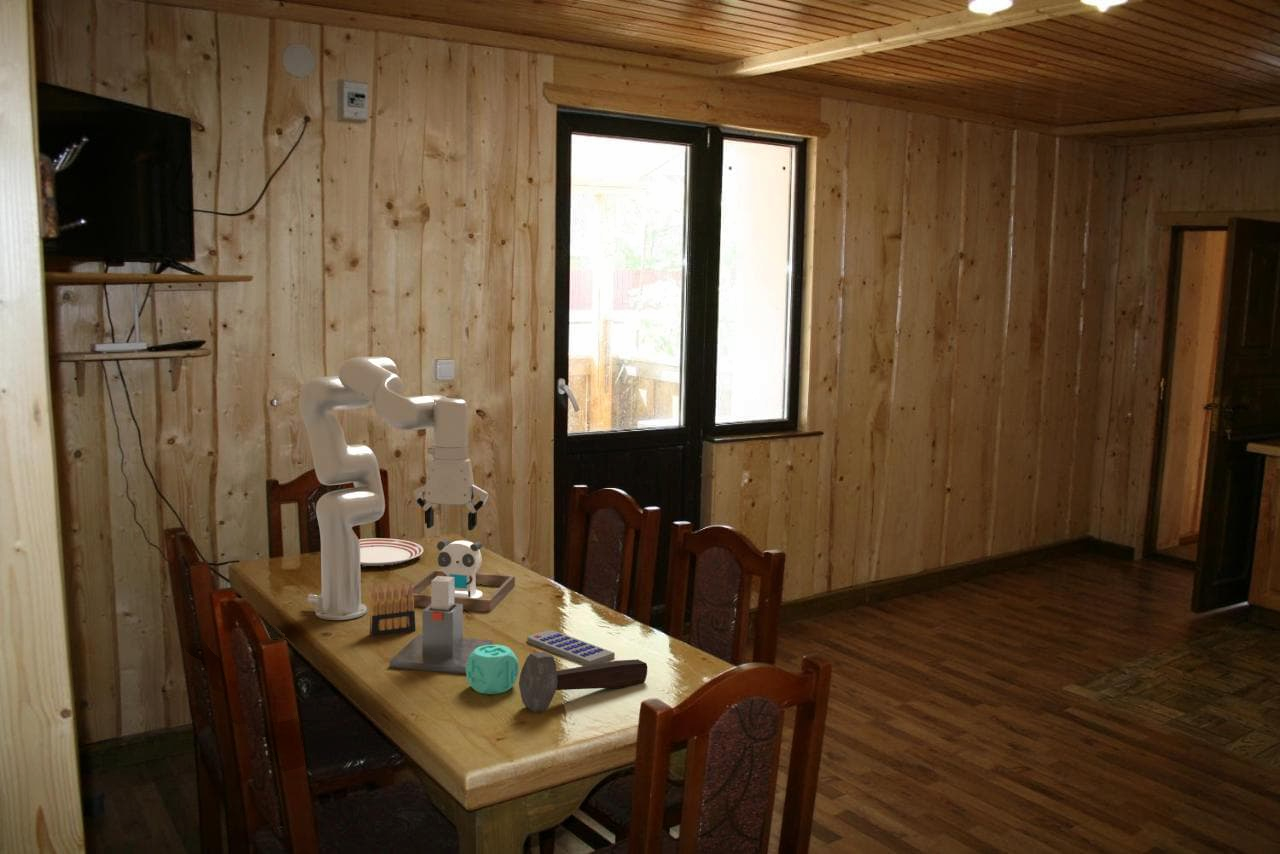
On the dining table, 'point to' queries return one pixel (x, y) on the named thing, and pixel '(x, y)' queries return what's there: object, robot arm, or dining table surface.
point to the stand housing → (439, 644)
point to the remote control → (570, 647)
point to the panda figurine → (461, 565)
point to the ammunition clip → (392, 612)
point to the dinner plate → (387, 551)
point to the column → (442, 593)
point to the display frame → (468, 603)
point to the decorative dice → (492, 669)
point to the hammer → (573, 678)
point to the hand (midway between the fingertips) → (450, 528)
